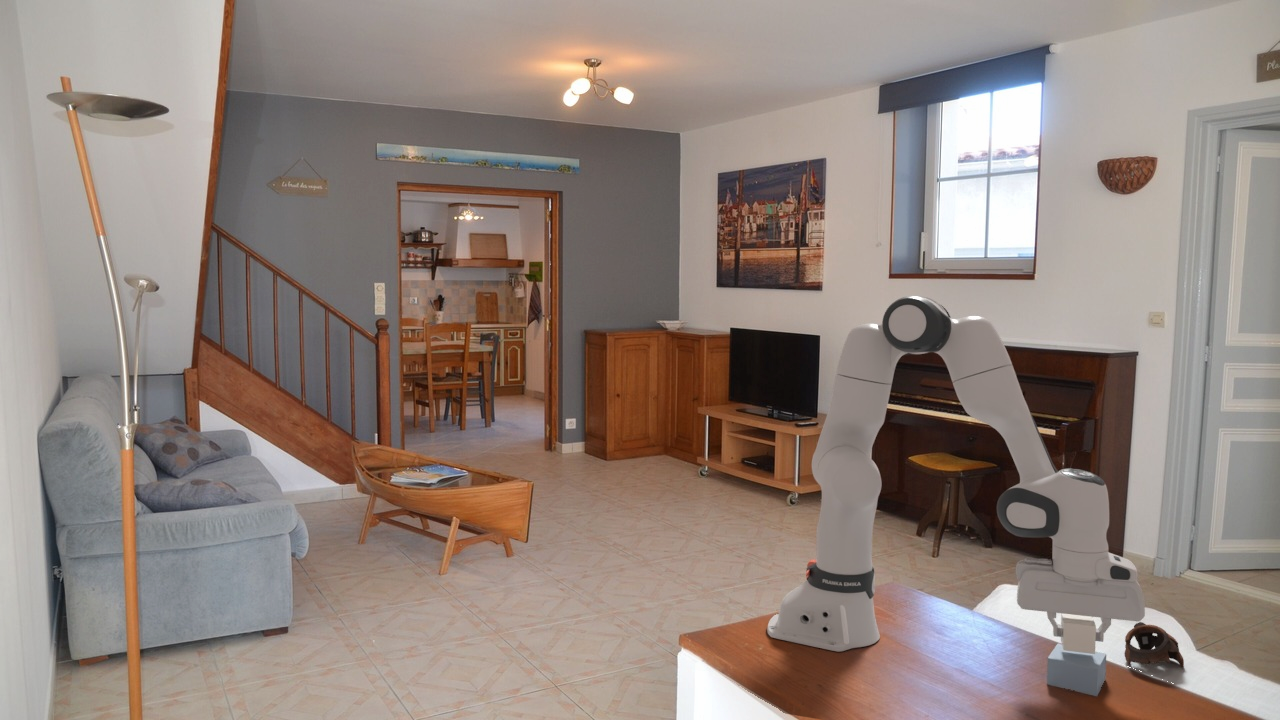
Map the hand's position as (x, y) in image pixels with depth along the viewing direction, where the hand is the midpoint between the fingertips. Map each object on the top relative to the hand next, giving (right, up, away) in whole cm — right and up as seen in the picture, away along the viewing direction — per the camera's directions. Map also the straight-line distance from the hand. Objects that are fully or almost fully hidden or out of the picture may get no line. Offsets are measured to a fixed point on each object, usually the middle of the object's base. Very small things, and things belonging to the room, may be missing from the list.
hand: (1077, 638), depth 155 cm
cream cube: (0, -2, 0) cm, 2 cm away
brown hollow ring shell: (+18, -8, +8) cm, 21 cm away
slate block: (0, -8, +1) cm, 8 cm away
